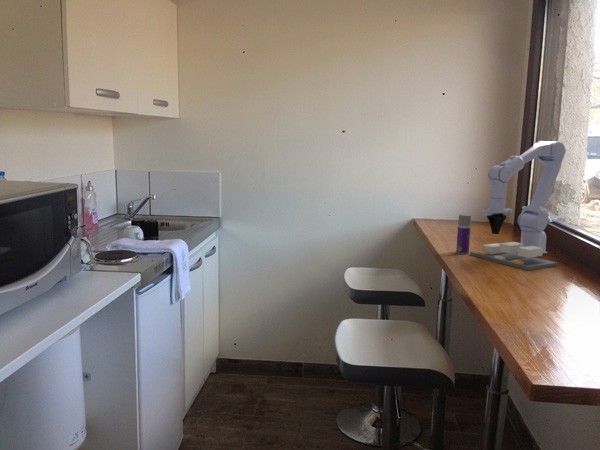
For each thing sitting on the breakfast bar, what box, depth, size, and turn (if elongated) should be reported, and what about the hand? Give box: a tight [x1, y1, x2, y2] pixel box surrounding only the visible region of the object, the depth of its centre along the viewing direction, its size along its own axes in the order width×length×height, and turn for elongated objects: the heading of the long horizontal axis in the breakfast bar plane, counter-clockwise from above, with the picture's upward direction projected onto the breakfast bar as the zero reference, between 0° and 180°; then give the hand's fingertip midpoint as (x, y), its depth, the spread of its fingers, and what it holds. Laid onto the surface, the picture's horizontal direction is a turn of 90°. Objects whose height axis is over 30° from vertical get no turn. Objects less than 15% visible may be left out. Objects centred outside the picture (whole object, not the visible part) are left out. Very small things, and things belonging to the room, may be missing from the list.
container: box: [455, 213, 472, 255], centre depth 206 cm, size 5×5×15 cm
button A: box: [481, 243, 505, 254], centre depth 202 cm, size 8×4×3 cm, turn 119°
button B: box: [499, 241, 524, 253], centre depth 195 cm, size 8×4×3 cm, turn 119°
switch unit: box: [469, 250, 558, 271], centre depth 196 cm, size 15×26×2 cm, turn 29°
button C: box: [517, 246, 544, 258], centre depth 188 cm, size 8×4×3 cm, turn 119°
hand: (495, 233), depth 201 cm, fingers closed
